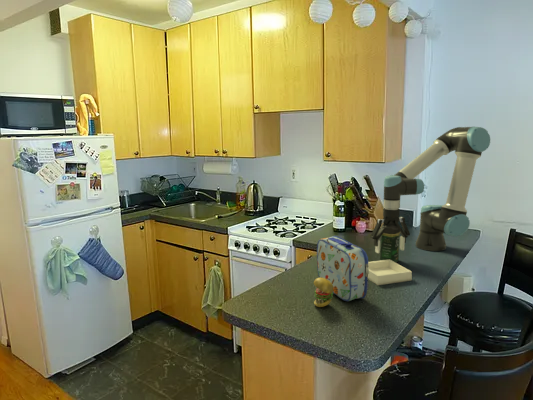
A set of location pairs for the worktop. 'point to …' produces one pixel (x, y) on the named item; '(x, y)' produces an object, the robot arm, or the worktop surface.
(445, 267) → the worktop surface
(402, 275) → the caddy
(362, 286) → the lunch box
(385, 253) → the coffee jar
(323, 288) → the hamburger
